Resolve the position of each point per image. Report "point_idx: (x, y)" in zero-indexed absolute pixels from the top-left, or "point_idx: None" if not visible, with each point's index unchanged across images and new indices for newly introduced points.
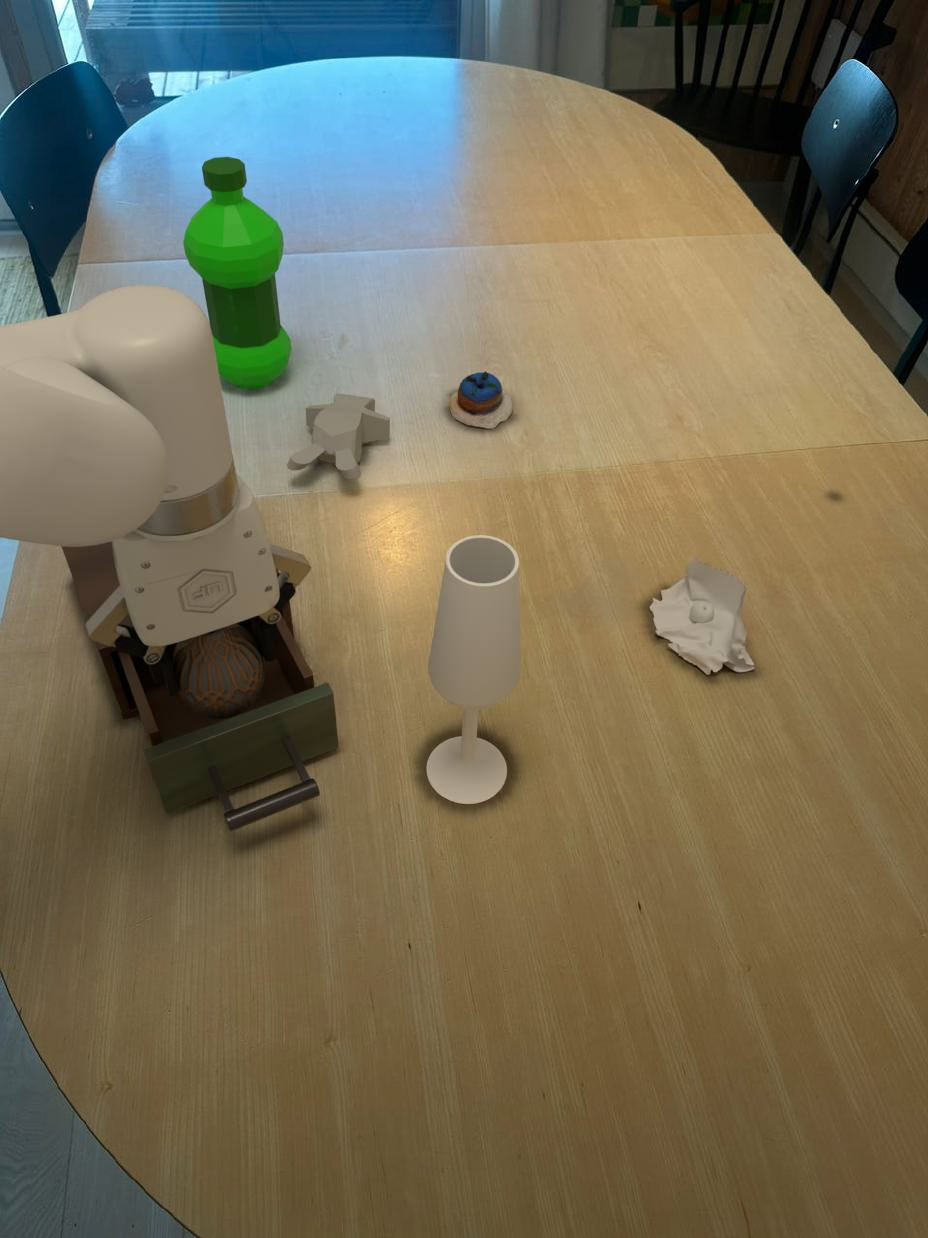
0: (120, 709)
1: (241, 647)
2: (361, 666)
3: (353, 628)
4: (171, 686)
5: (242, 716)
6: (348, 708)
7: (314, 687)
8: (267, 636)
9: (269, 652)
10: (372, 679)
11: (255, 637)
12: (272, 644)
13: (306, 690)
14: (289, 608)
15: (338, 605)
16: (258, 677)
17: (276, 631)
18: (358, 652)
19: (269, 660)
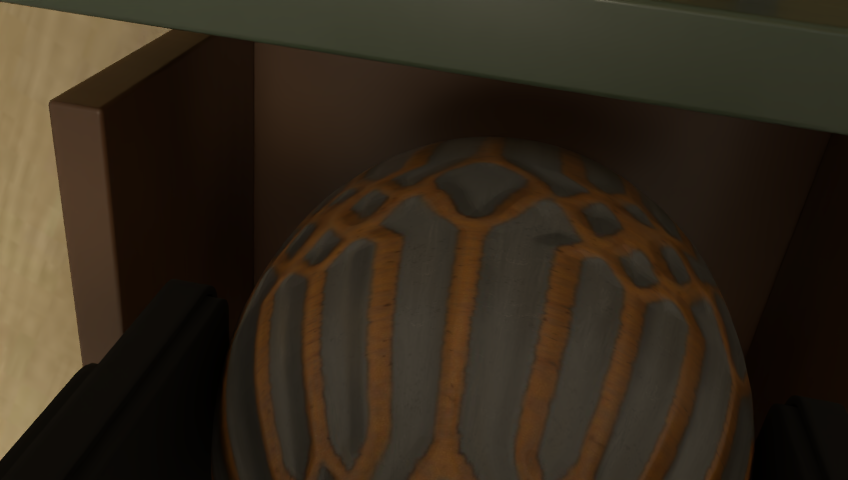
0: None
1: (288, 468)
2: (27, 157)
3: (11, 293)
4: (845, 465)
5: (523, 61)
6: (120, 29)
7: (55, 6)
8: (68, 443)
9: (159, 332)
10: (7, 90)
11: None
12: (99, 368)
13: (105, 14)
14: None
15: (30, 382)
16: (311, 231)
17: (31, 435)
18: (21, 209)
19: (201, 292)
